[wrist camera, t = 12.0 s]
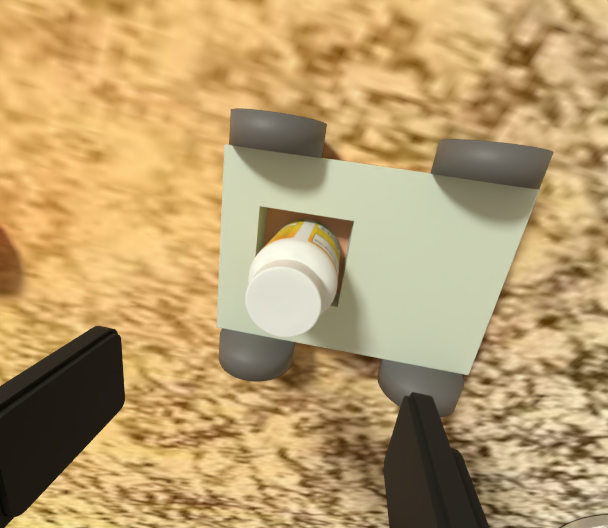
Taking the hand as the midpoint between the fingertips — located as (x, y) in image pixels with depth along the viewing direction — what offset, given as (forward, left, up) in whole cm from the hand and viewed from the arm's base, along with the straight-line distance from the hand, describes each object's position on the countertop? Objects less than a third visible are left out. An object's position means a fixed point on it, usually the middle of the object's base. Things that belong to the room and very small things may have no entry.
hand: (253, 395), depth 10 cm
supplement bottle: (0, 0, -16) cm, 16 cm away
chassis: (-4, 0, -16) cm, 17 cm away
